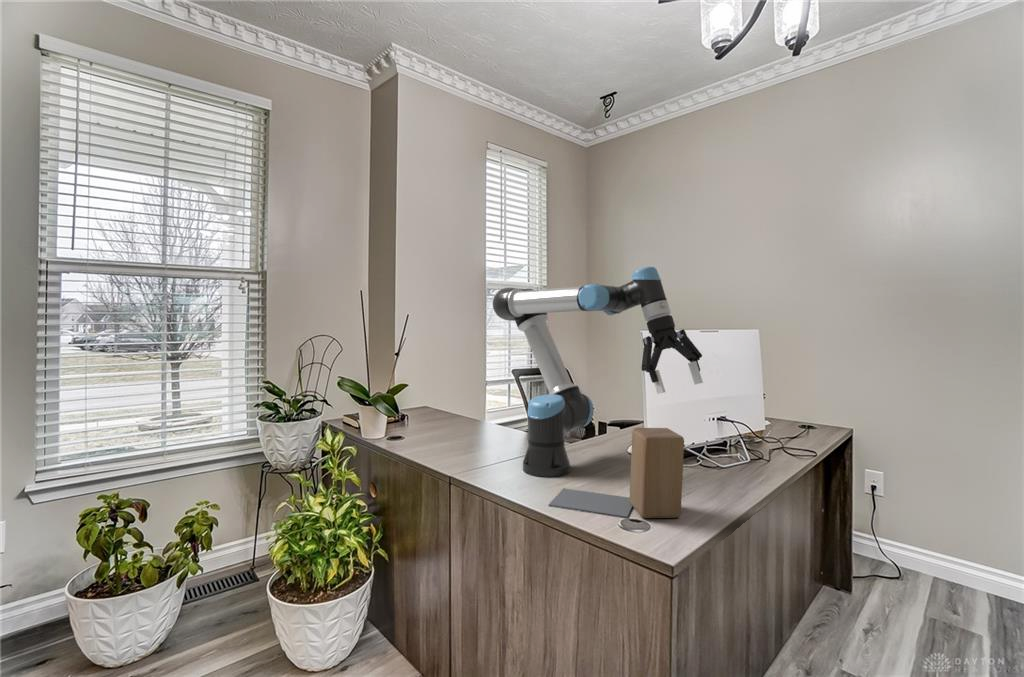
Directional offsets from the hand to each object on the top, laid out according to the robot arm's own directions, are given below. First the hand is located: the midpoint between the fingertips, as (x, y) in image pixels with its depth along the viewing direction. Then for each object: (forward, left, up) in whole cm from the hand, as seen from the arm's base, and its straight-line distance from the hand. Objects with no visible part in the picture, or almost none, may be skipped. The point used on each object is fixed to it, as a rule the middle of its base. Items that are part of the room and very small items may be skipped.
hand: (680, 388), depth 137 cm
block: (-4, -22, -28) cm, 36 cm away
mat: (-20, -22, -28) cm, 41 cm away
